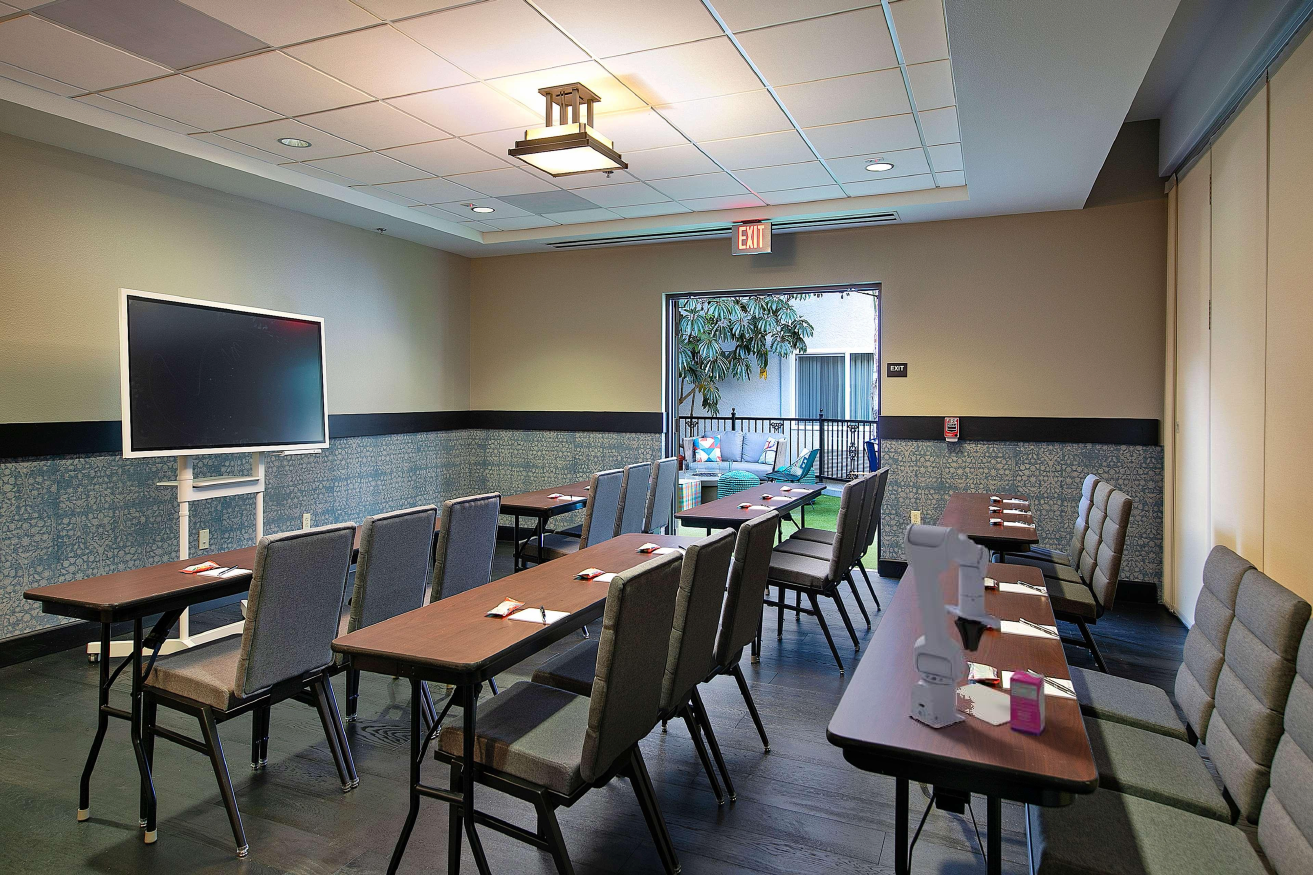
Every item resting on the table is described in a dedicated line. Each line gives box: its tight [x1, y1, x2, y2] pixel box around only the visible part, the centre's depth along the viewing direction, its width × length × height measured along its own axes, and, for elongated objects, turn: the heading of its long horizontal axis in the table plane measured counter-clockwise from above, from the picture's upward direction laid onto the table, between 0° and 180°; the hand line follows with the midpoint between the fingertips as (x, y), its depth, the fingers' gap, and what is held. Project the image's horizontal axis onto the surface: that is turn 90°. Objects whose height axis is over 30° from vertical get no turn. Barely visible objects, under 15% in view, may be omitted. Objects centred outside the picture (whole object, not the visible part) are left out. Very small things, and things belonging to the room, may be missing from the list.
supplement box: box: [1009, 669, 1046, 737], centre depth 160 cm, size 6×6×12 cm
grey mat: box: [957, 682, 1010, 727], centre depth 173 cm, size 17×18×1 cm
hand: (970, 650), depth 179 cm, fingers closed
